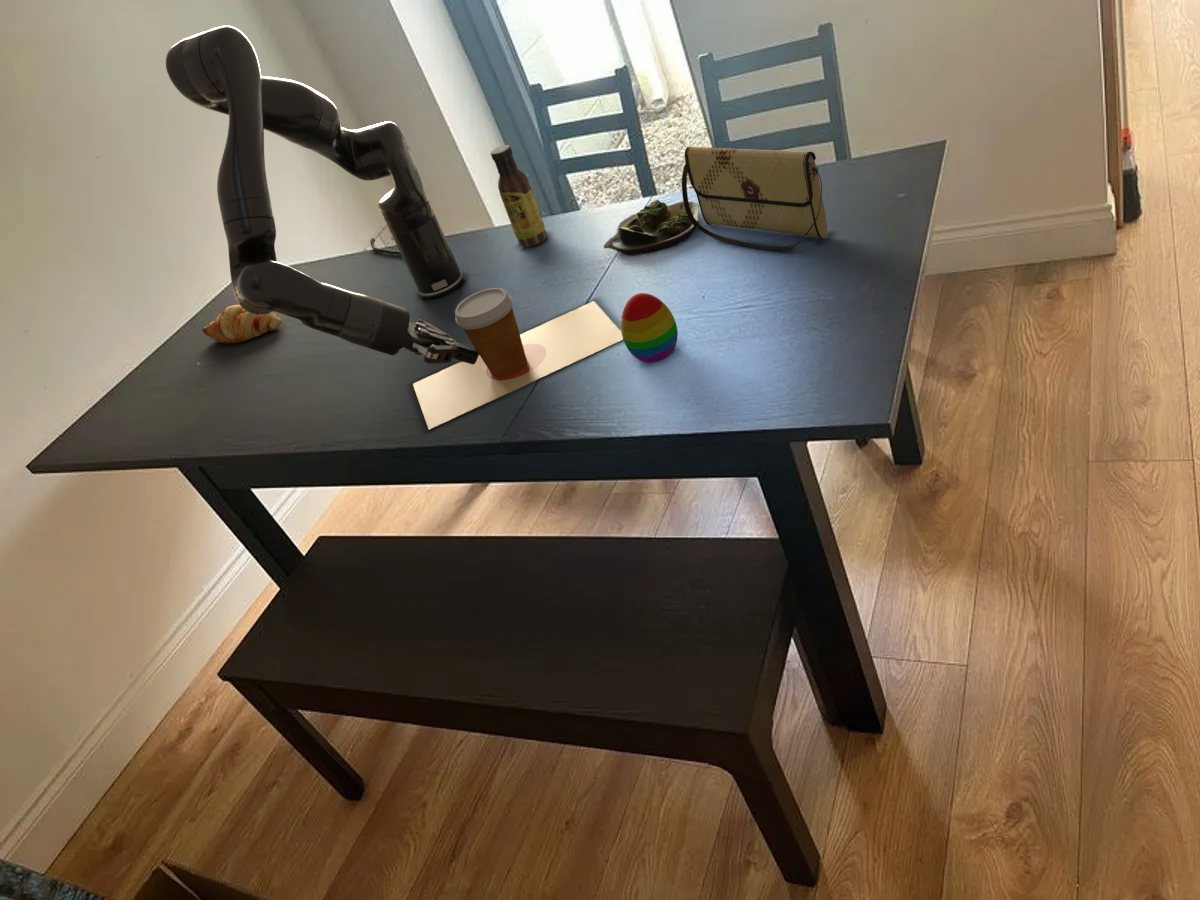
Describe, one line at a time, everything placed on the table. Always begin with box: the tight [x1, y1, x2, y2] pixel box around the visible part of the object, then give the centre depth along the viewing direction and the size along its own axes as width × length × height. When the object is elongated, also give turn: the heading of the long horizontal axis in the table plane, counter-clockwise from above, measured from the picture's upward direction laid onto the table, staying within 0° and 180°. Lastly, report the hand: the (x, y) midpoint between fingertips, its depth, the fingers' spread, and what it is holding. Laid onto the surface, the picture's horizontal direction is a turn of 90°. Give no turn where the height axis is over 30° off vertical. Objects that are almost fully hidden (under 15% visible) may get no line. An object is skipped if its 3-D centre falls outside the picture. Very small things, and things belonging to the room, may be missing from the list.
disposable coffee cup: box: [454, 287, 526, 376], centre depth 150 cm, size 10×10×12 cm
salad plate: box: [603, 199, 700, 256], centre depth 177 cm, size 19×18×5 cm
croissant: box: [201, 304, 283, 344], centre depth 201 cm, size 21×10×8 cm, turn 74°
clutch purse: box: [681, 146, 828, 251], centre depth 158 cm, size 30×7×15 cm, turn 43°
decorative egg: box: [620, 292, 679, 364], centre depth 139 cm, size 8×8×10 cm
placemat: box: [412, 300, 624, 431], centre depth 154 cm, size 17×34×1 cm, turn 109°
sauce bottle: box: [490, 144, 548, 248], centre depth 187 cm, size 6×6×20 cm
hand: (476, 357), depth 151 cm, fingers closed
